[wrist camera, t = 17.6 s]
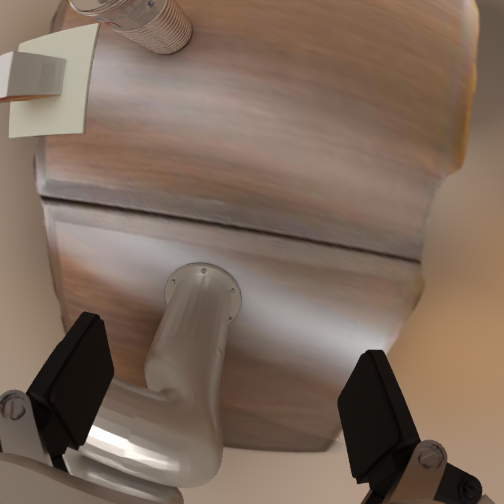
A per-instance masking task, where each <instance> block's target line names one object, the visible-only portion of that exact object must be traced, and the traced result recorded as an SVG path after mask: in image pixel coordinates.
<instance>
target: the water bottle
mask: <svg viewBox="0 0 504 504" xmlns="http://www.w3.org/2000/svg"><path fill="white" fill-rule="evenodd" d="M67 2H68V4H69V6H70V7H71V8H72V9H73V10H75V11H76V12H79V13H81V14H83V15H88V16H91V17H93V18H95V19H97V20H99V21H101V22H103V23H104V24H106V25H108V26H110V27H111V28H112V29H114V30H115V31H117V32H119V33H121V34H123V35H124V36H126V37H128V38H130V39H132V40H133V41H135V42H137V43H139V44H140V45H142V46H144V47H146V48H147V49H149V50H151V51H153V52H155V53H158V54H171V53H174V52H177V51H179V50H180V49H182V48H183V47H184V46H185V45H186V44H187V43H188V41H189V40H190V38H191V35H192V25H191V22H190V20H189V18H188V17H187V16H186V14H185V13H184V11H183V10H182V9H181V7H180V6H179V5H178V3H177V2H176V1H175V0H67Z"/></svg>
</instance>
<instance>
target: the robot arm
mask: <svg viewBox="0 0 504 504" xmlns="http://www.w3.org/2000/svg"><path fill="white" fill-rule="evenodd" d="M204 268H205V269H204ZM165 301H166V304H167V308H166V310H165V313H164V315H163V317H162V320H161V322H160V324H159V327H158V329H157V331H156V334H155V336H154V338H153V341H152V343H151V346H150V348H149V351H148V353H147V356H146V359H145V364H144V373H145V380H146V383H147V387H148V389H147V388H146V389H145V388H142V387H140V386H137V385H135V384H132V383H129V382H127V381H125V380H122V379H120V378H117V377H115V376H114V366H113V362H112V358H111V354H110V349H109V345H108V340H107V335H106V330H105V325H104V321H103V320H102V319H100V316H99V315H97V314H93V313H89V312H83V313H82V314H81V315H80V316H79V318H78V319H77V321H76V322H75V323H74V325H73V326H72V327H71V329H70V330H69V332H68V333H67V334H66V336H65V337H64V339H63V340H62V341H61V342H60V343H59V344H58V345H57V346H56V348H55V349H54V350H53V352H52V353H51V355H50V356H49V358H48V360H47V361H46V362H45V364H44V365H43V367H42V368H41V370H40V371H39V373H38V374H37V376H36V378H35V379H34V381H33V382H32V384H31V385H30V387H29V389H28V390H27V392H26V394H25V393H24V392H22V391H19V390H9V391H7V392H5V393H3V394H2V395H1V396H0V504H184V499H183V496H182V494H181V492H180V491H179V490H178V488H177V487H180V488H193V487H198V486H202V485H204V484H206V483H208V482H209V481H210V480H211V479H213V478H214V476H215V475H216V474H217V472H218V470H219V468H220V465H221V461H222V455H223V437H222V428H221V419H220V389H221V379H222V371H223V364H224V356H225V348H226V340H227V332H228V324H229V323H230V322H232V321H233V320H234V318H235V317H236V316H237V314H238V312H239V310H240V306H241V293H240V290H239V287H238V285H237V283H236V281H235V280H234V279H233V278H232V277H231V276H230V275H229V274H228V273H227V272H225V271H224V270H222V269H220V268H219V267H216V266H213V265H210V264H205V263H194V264H188V265H185V266H183V267H181V268H179V269H178V270H176V271H175V272H174V273H173V274H172V275H171V277H170V278H169V280H168V282H167V284H166V287H165ZM338 410H339V414H340V419H341V424H342V428H343V433H344V438H345V443H346V448H347V453H348V458H349V463H350V468H351V473H352V476H353V478H356V480H357V484H361V483H368V482H369V486H370V490H369V492H368V493H367V495H366V496H365V498H364V500H363V501H362V502H361V504H495V503H494V502H493V501H492V500H491V499H490V498H489V497H488V496H487V495H486V494H485V495H483V496H482V486H481V483H480V482H479V480H478V479H477V478H476V477H474V476H472V475H470V474H468V473H466V472H464V471H462V470H461V469H459V468H457V467H455V466H453V465H451V464H449V463H448V462H447V453H446V451H445V449H444V447H443V446H442V445H441V444H439V443H438V442H437V441H433V440H424V441H422V442H421V440H420V438H419V435H418V432H417V430H416V427H415V424H414V422H413V419H412V417H411V414H410V412H409V409H408V406H407V404H406V402H405V399H404V397H403V394H402V392H401V389H400V387H399V385H398V383H397V381H396V378H395V376H394V373H393V371H392V369H391V366H390V364H389V362H388V360H387V357H386V355H385V353H384V351H383V350H367V351H366V352H365V353H363V354H362V355H361V356H360V358H359V360H358V362H357V364H356V366H355V368H354V370H353V372H352V374H351V376H350V378H349V379H348V381H347V383H346V385H345V387H344V389H343V390H342V392H341V394H340V396H339V398H338Z"/></svg>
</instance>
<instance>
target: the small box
mask: <svg viewBox="0 0 504 504" xmlns="http://www.w3.org/2000/svg"><path fill="white" fill-rule="evenodd" d="M65 63H66V59H63V58H58V57H52V56H46V55H40V54H33V53H26V52H18V51H12V52H9V53H6V54H3V55H0V103H2V102H14V101H29V100H33V99H38V98H44V97H51V96H59V95H61V94H62V85H63V77H64V70H65Z"/></svg>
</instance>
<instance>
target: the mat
mask: <svg viewBox="0 0 504 504" xmlns="http://www.w3.org/2000/svg"><path fill="white" fill-rule="evenodd" d="M99 27H100V24H99V23H96V24H91V25H86V26H81V27H76V28H72V29H68V30H64V31H60V32H56V33H53V34H49V35H46V36H42V37H39V38H36V39H33V40H30V41H27V42H24V43H21V44H20V45H19V50H18V52H26V53H33V54H40V55H46V56H52V57H58V58H63V59H66V63H65V70H64V77H63V85H62V94H61V95H59V96H51V97H44V98H38V99H33V100H29V101H14V102H11V108H10V121H9V138H15V137H25V136H37V135H52V134H73V133H85V121H86V109H87V99H88V90H89V82H90V75H91V69H92V63H93V57H94V51H95V46H96V41H97V36H98V32H99Z"/></svg>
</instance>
